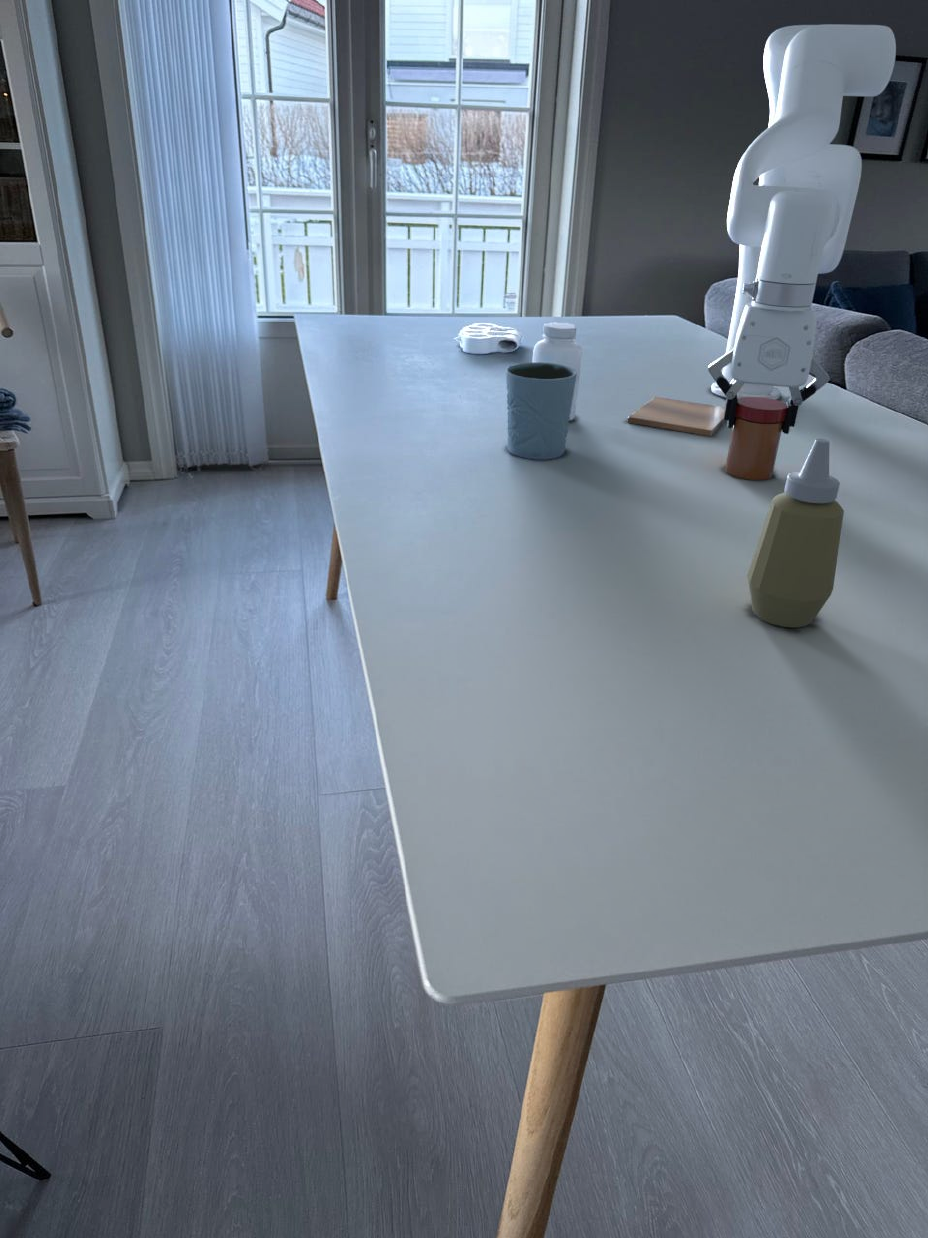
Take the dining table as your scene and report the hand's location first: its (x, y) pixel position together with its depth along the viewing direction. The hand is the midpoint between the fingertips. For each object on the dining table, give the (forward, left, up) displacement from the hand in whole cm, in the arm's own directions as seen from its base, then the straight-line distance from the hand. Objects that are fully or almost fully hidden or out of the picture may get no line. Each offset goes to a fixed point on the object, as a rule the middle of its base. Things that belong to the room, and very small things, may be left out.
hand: (757, 427), depth 127 cm
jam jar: (0, 0, -7) cm, 7 cm away
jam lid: (0, 0, +3) cm, 3 cm away
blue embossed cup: (+8, -30, -7) cm, 32 cm away
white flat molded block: (-57, -69, -7) cm, 90 cm away
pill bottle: (-11, -35, -7) cm, 37 cm away
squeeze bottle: (+44, +12, -7) cm, 46 cm away
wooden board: (-23, -16, -7) cm, 29 cm away
